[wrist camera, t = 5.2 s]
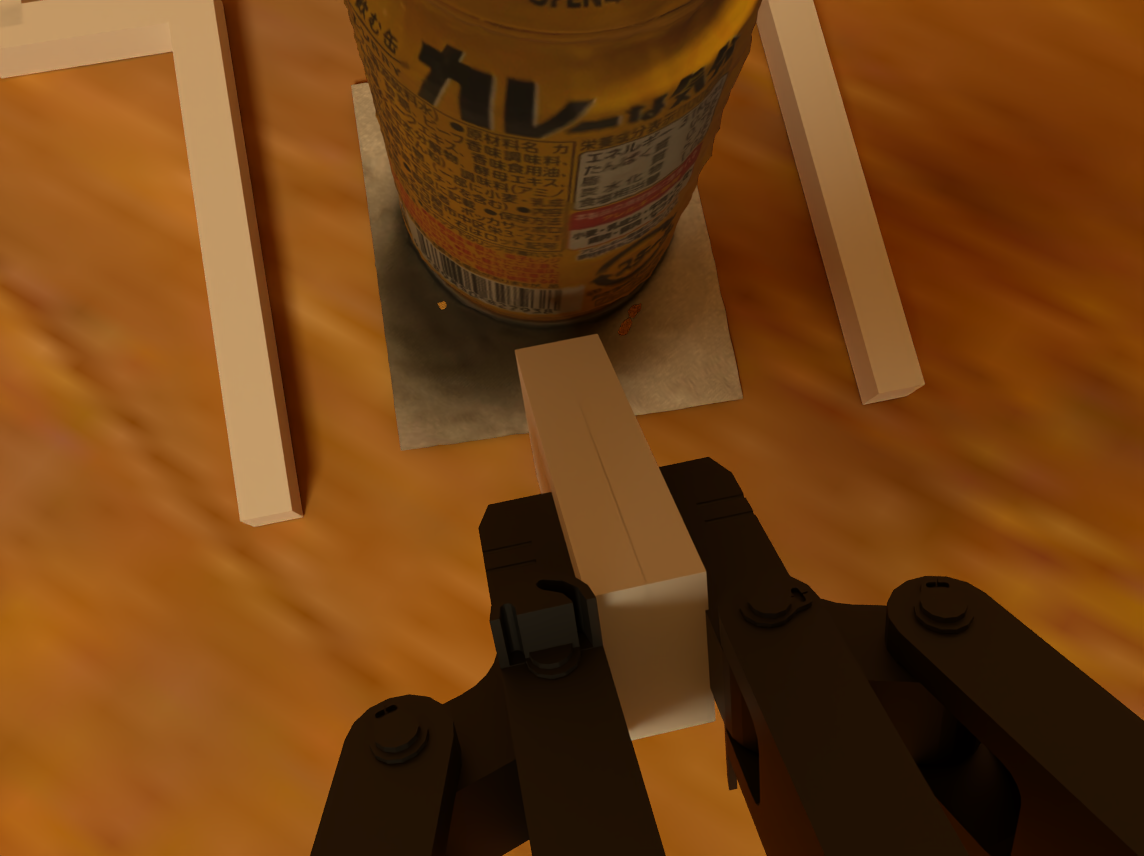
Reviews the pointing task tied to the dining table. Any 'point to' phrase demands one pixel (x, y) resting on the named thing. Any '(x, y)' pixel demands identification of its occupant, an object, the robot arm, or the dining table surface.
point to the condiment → (543, 196)
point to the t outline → (231, 238)
